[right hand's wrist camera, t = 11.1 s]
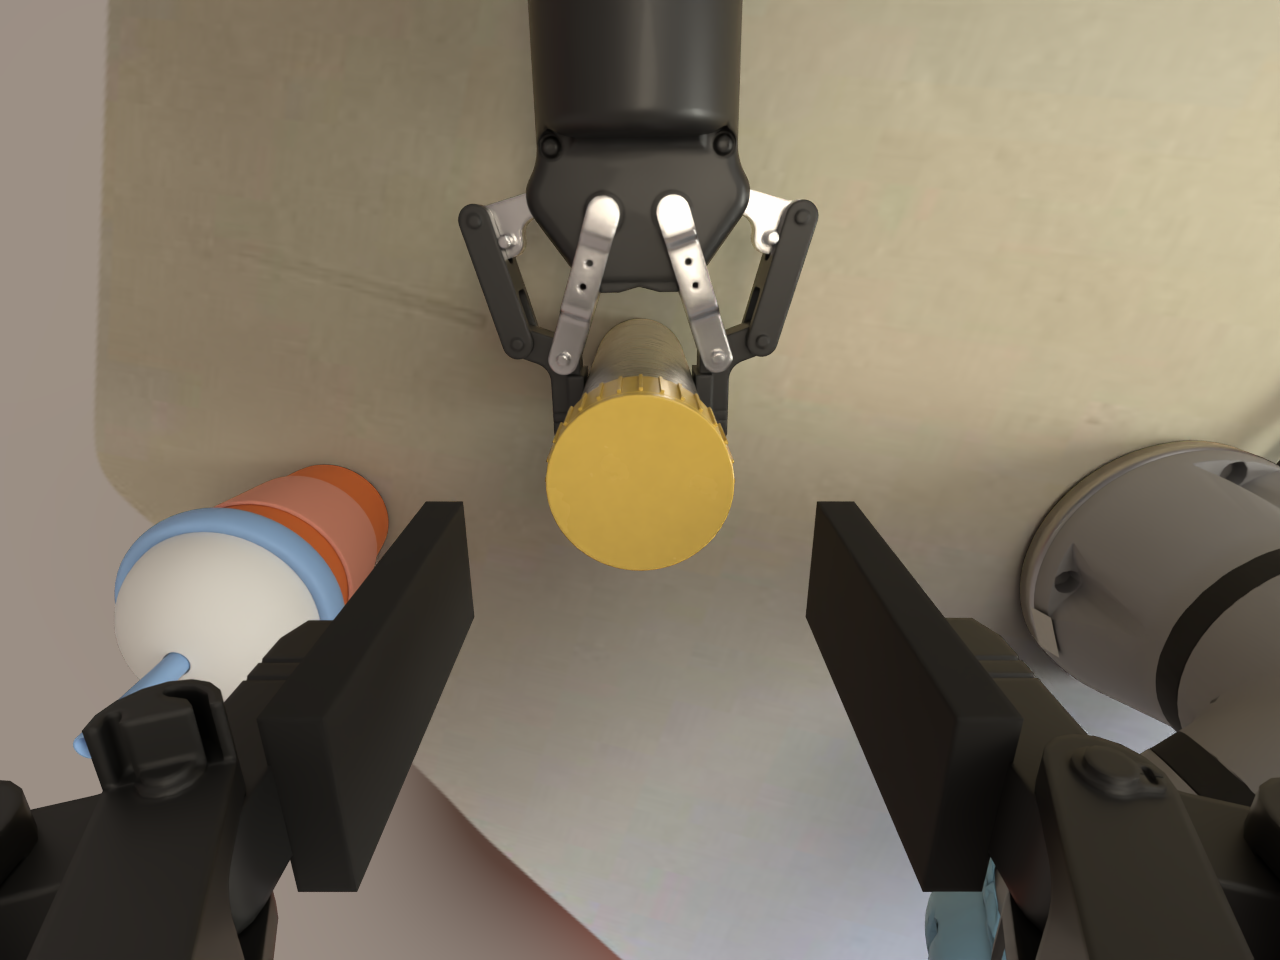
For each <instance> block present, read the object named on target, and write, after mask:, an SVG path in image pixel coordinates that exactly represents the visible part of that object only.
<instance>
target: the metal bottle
mask: <svg viewBox="0 0 1280 960" xmlns="http://www.w3.org/2000/svg"><path fill="white" fill-rule="evenodd" d="M639 374H643V376H650V377H656V378H659V376H661V377H663V379H664V380H668V381H671V382H673V383H675V384H678V383H681V384H682V387H684V388H685V389H687V390H688V391H690V392H691V393H693V394H695V393H697V390H696V387H695V384H694V381H693V378H692V375H691V373H690V370H689V367H688V364H687V361H686V358H685V355H684V352H683V349H682V347H681V344H680V342H679V340H678V339H677V337H676V336H675V335H674V334H673V332H672V331H671V330H669V329H668V328H667V327H666V326H664V325H663V324H661V323H659V322H657V321H653V320H650V319H641V318H638V319H631V320H627V321H624V322H622V323H620V324H618V325H616V326H615V327H613V328H612V329H611V330H610V331H609V332H608V333H607V334H606V335H605V336H604V338H603V339H602V341H601V343H600V345H599V347H598V350H597V353H596V356H595V359H594V362H593V365H592V367H591V370H590V373H589V376H588V379H587V382H586V385H585V388H584V390H583V393H582V395H583V394H584V393H585V392H586V393H587V394H588V393H589V392H590V391H592V390H593V389H595V388H597V387H599V384H600V383H602V382H603V383H607V382H610V381H613V380H615V379H618V378H619V376H622V377H623V378H624V377H632V376H639ZM697 394H698V393H697ZM581 398H582V396H581ZM580 400H581V399H580Z"/></svg>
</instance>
